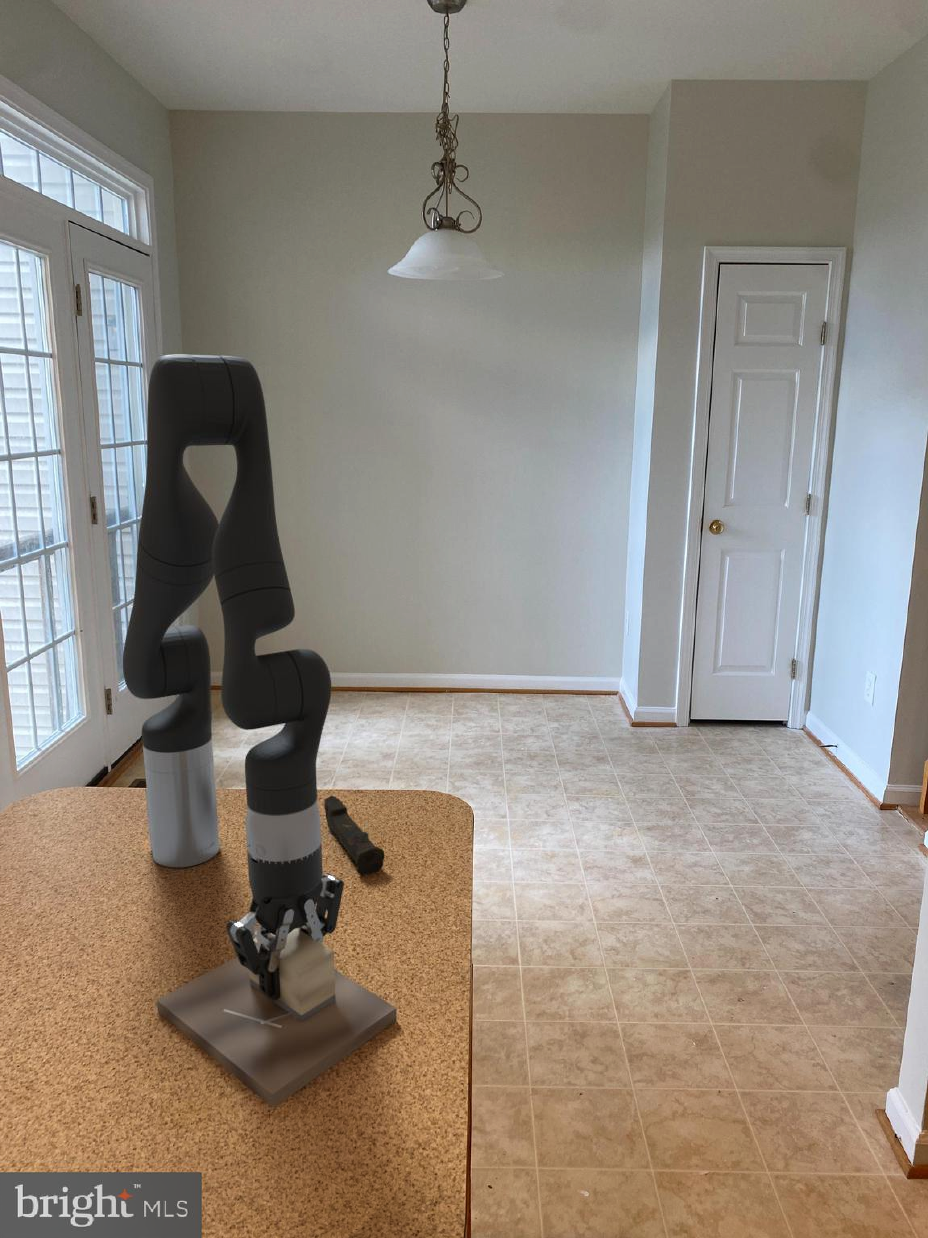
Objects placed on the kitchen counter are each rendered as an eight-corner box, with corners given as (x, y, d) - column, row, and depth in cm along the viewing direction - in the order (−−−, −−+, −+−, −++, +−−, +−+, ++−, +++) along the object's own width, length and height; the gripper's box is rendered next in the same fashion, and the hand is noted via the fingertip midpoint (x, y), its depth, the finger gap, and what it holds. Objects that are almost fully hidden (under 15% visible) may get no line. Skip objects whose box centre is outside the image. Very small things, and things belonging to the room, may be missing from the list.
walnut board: (157, 1012, 96) (156, 1000, 95) (279, 945, 107) (278, 934, 107) (273, 1108, 83) (272, 1094, 83) (396, 1020, 95) (396, 1008, 94)
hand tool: (385, 873, 124) (385, 842, 123) (358, 879, 122) (357, 848, 121) (345, 816, 141) (344, 788, 140) (320, 820, 139) (319, 793, 138)
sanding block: (250, 984, 98) (247, 936, 96) (283, 965, 101) (281, 918, 100) (301, 1022, 92) (299, 971, 90) (335, 1000, 95) (333, 951, 94)
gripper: (315, 806, 100) (321, 941, 104) (203, 853, 89) (214, 1001, 94) (361, 827, 95) (364, 968, 99) (247, 880, 84) (256, 1035, 89)
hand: (291, 983), depth 96 cm, fingers closed on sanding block, 4 cm apart
